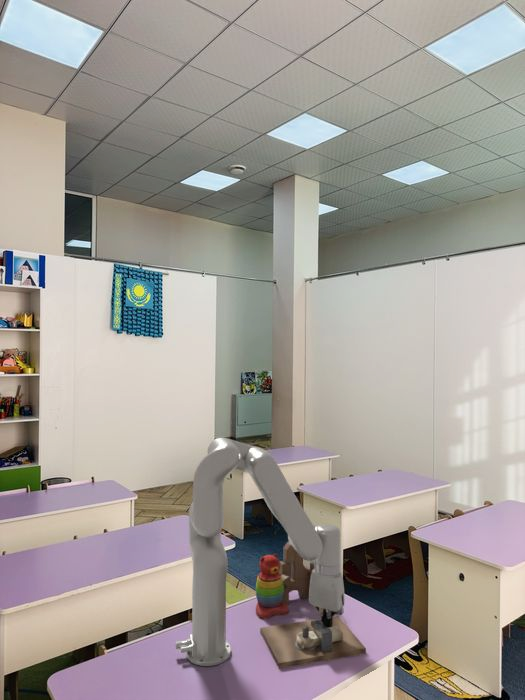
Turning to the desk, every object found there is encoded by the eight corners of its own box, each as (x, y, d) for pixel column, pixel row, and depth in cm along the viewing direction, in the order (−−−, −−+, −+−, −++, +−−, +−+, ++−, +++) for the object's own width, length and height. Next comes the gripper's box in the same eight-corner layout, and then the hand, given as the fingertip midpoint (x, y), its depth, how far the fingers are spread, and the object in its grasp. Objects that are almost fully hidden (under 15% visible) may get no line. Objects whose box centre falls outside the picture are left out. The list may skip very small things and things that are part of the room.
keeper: (322, 653, 138) (322, 633, 138) (310, 637, 146) (310, 618, 146) (331, 651, 139) (332, 631, 139) (320, 635, 147) (320, 616, 147)
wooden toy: (279, 607, 166) (280, 532, 167) (272, 599, 173) (272, 526, 173) (320, 600, 172) (320, 527, 173) (311, 591, 178) (312, 521, 179)
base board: (278, 668, 134) (278, 662, 134) (260, 632, 151) (260, 626, 151) (365, 653, 141) (365, 647, 141) (338, 620, 158) (338, 615, 158)
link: (301, 649, 139) (301, 633, 139) (294, 640, 144) (294, 624, 144) (343, 640, 144) (343, 625, 144) (335, 631, 148) (335, 616, 148)
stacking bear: (260, 620, 159) (260, 564, 159) (249, 605, 168) (249, 553, 168) (291, 613, 163) (290, 558, 163) (278, 599, 172) (278, 548, 172)
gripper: (299, 565, 150) (298, 627, 150) (344, 578, 142) (344, 643, 141) (311, 557, 157) (310, 616, 156) (355, 569, 148) (354, 631, 148)
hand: (326, 629), depth 149 cm, fingers closed
